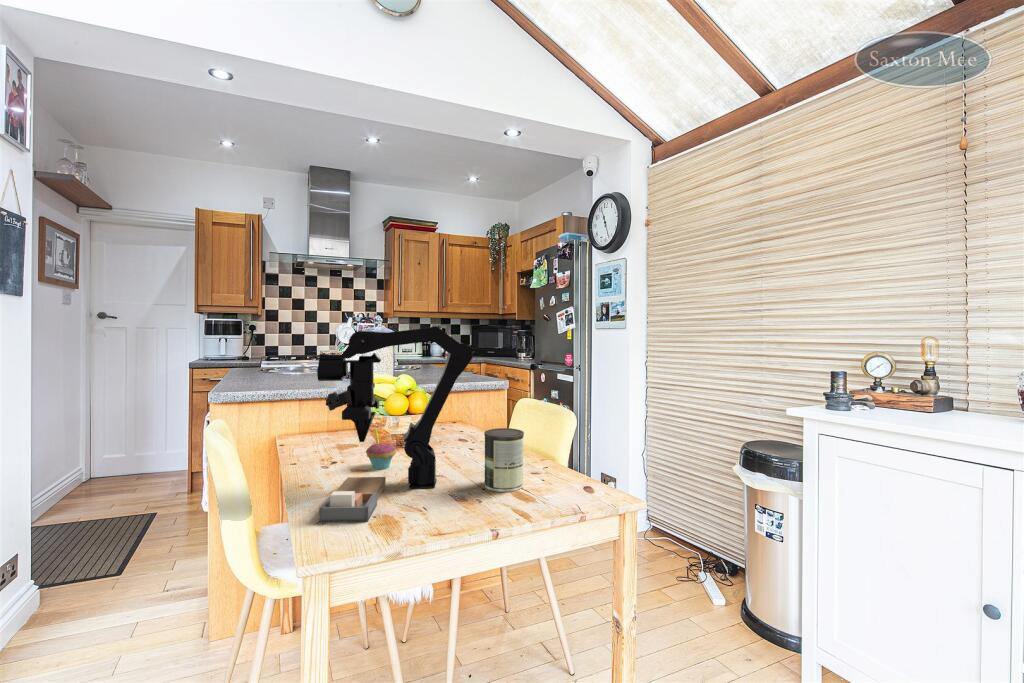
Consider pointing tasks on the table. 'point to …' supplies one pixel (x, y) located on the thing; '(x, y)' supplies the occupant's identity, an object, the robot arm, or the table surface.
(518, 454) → the coffee can
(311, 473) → the table surface
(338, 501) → the cream tile
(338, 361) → the robot arm
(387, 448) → the cupcake
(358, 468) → the table surface
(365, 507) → the tray
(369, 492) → the walnut board
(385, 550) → the table surface
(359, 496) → the terracotta tile
